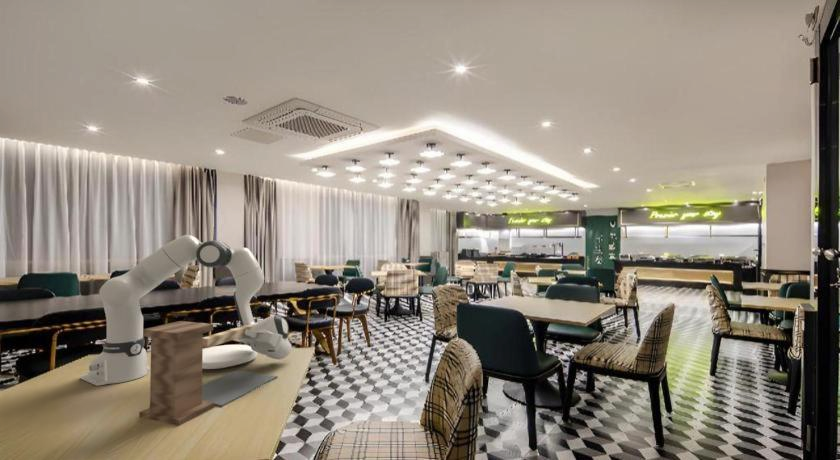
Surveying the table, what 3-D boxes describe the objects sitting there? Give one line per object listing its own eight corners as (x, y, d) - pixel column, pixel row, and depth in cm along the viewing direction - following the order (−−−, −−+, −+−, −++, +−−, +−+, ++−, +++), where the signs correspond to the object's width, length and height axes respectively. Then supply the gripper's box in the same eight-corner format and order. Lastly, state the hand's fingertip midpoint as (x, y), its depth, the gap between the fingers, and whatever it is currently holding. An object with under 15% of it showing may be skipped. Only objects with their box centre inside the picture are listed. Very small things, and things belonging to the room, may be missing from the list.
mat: (174, 398, 125) (174, 396, 125) (235, 371, 149) (235, 370, 149) (222, 406, 118) (222, 404, 118) (277, 377, 143) (277, 376, 143)
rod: (207, 348, 123) (207, 339, 123) (200, 347, 124) (200, 338, 124) (252, 333, 142) (252, 325, 142) (245, 332, 143) (246, 324, 143)
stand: (139, 416, 112) (140, 329, 112) (176, 400, 123) (177, 320, 124) (179, 425, 107) (180, 333, 107) (214, 407, 118) (215, 324, 119)
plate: (219, 340, 177) (270, 344, 172) (218, 355, 176) (269, 359, 171) (169, 352, 150) (227, 357, 144) (167, 369, 149) (226, 374, 144)
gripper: (244, 331, 154) (221, 320, 143) (286, 335, 148) (265, 324, 137) (238, 346, 151) (214, 337, 140) (280, 351, 145) (258, 342, 134)
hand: (239, 331), depth 138 cm, fingers closed on rod, 3 cm apart
